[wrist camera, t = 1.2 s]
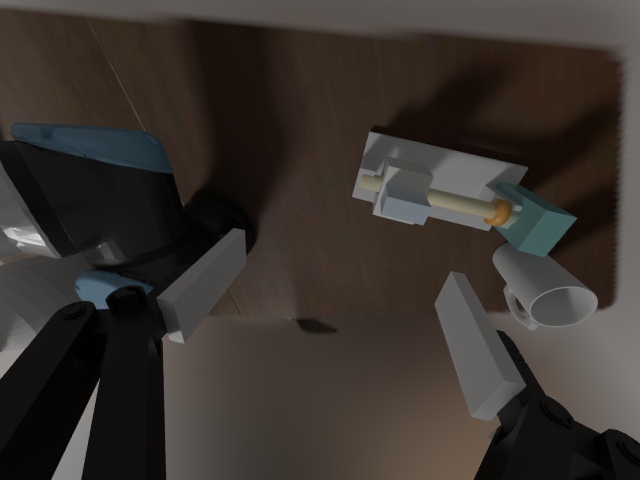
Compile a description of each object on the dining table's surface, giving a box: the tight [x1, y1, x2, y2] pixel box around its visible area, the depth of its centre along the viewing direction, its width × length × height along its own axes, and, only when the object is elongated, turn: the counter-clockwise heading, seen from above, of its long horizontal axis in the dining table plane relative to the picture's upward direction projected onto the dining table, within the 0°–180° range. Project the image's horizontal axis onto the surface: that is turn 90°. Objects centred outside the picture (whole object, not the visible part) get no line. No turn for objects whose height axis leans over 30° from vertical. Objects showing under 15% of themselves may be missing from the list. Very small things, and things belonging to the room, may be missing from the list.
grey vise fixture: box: [352, 131, 577, 257], centre depth 31 cm, size 22×10×12 cm, turn 79°
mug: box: [493, 242, 598, 331], centre depth 35 cm, size 10×7×12 cm, turn 173°
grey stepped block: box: [373, 156, 434, 225], centre depth 28 cm, size 5×6×10 cm
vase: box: [0, 252, 91, 352], centre depth 52 cm, size 18×18×25 cm
